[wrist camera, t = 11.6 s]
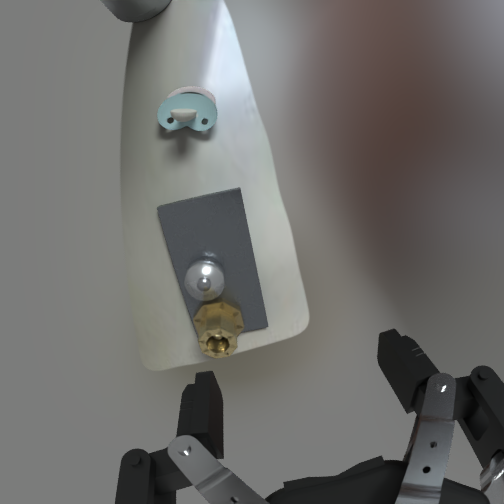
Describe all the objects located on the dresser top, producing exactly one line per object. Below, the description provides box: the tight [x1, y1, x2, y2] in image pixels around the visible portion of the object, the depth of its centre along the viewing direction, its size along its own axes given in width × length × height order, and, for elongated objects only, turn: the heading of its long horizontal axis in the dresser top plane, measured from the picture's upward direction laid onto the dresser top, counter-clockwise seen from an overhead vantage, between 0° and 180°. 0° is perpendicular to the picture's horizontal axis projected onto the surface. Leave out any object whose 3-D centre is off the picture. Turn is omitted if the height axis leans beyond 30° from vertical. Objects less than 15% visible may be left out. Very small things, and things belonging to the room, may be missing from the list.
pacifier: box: [157, 86, 217, 131], centre depth 30 cm, size 7×6×6 cm
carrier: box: [157, 188, 268, 340], centre depth 39 cm, size 21×11×5 cm, turn 11°
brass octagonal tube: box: [193, 298, 244, 359], centre depth 40 cm, size 7×7×6 cm
